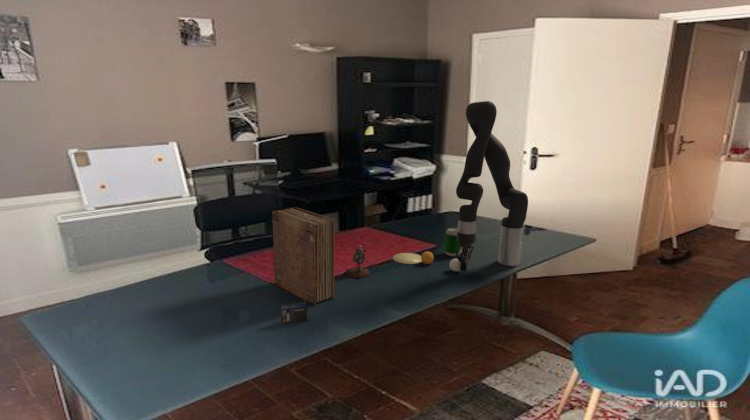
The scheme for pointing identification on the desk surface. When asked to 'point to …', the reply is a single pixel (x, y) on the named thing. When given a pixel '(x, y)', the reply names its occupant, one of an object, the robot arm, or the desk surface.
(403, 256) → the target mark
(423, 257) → the orange ball
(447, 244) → the soda can
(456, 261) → the cue ball
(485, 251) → the desk surface
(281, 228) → the book
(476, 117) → the robot arm
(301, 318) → the mini dv tape
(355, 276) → the robot figurine
